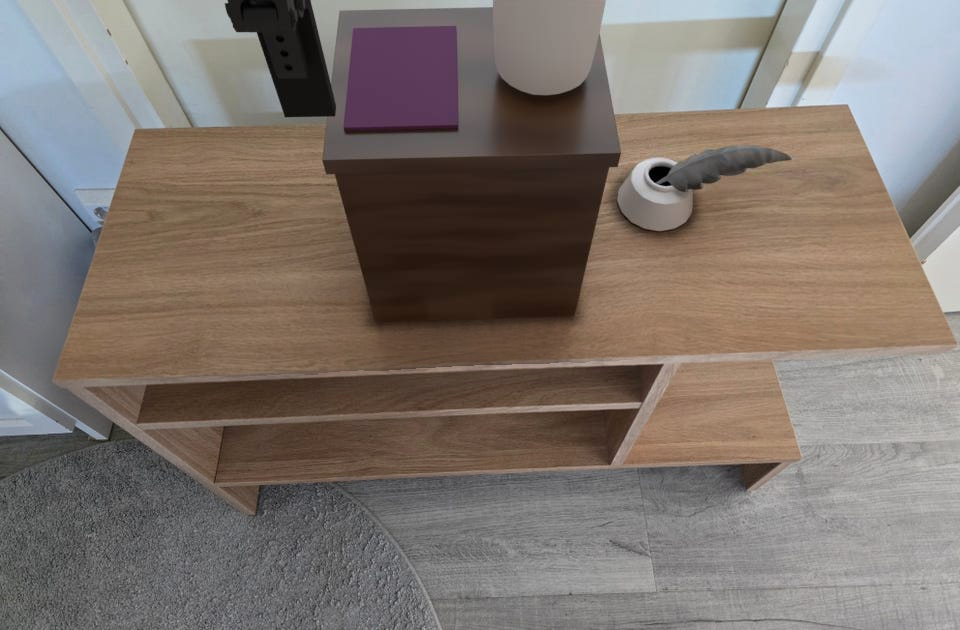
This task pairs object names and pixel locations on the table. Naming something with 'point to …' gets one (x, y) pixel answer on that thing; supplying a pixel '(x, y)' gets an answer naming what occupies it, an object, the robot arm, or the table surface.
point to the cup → (546, 42)
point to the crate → (474, 185)
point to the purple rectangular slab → (402, 79)
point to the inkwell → (683, 183)
